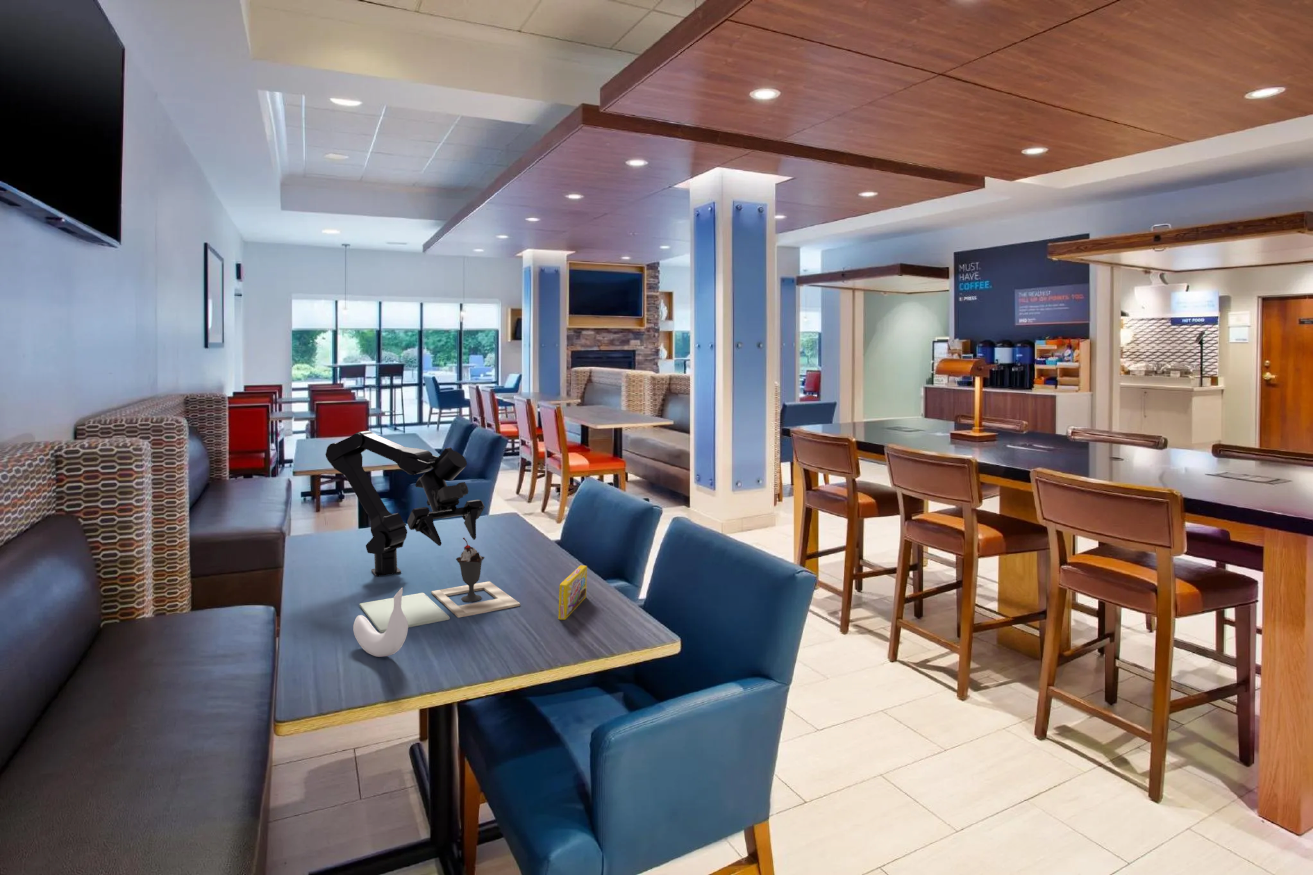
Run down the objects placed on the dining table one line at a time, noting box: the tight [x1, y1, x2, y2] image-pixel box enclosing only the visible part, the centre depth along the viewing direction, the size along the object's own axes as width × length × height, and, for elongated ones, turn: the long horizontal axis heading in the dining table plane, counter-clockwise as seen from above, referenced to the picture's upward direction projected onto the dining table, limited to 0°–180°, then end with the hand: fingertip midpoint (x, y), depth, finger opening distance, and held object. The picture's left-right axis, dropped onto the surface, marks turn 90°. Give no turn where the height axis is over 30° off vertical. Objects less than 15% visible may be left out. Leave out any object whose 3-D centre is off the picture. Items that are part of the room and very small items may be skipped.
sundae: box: [455, 537, 485, 603], centre depth 185 cm, size 7×7×15 cm
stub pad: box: [359, 592, 450, 634], centre depth 176 cm, size 20×15×1 cm
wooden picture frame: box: [430, 580, 521, 619], centre depth 185 cm, size 20×15×1 cm
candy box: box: [557, 564, 588, 621], centre depth 179 cm, size 16×2×8 cm, turn 168°
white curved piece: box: [352, 587, 409, 658], centre depth 152 cm, size 5×19×15 cm, turn 52°
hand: (457, 541), depth 189 cm, fingers open, 9 cm apart
